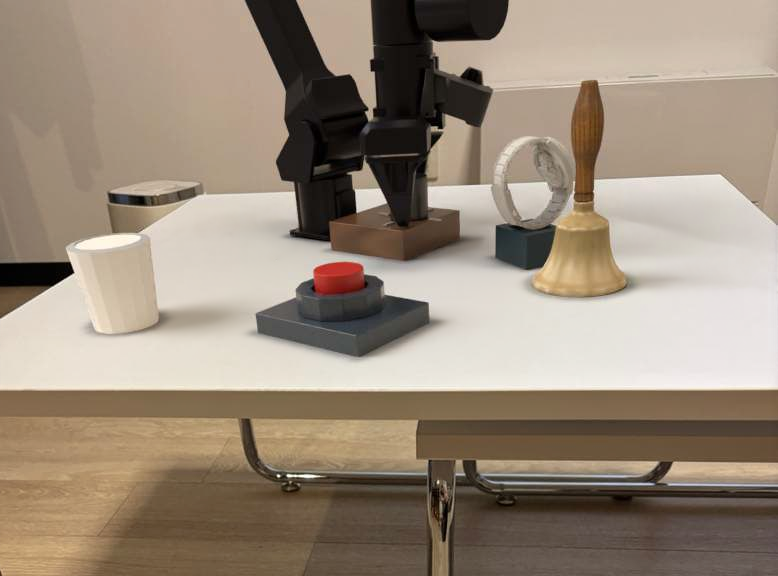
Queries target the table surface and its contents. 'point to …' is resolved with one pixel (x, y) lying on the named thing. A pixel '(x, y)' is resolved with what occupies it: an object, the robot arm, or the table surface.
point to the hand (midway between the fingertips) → (409, 216)
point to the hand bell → (582, 217)
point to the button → (339, 278)
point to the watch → (535, 236)
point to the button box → (343, 318)
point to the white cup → (116, 281)
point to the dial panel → (393, 233)
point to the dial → (418, 198)
